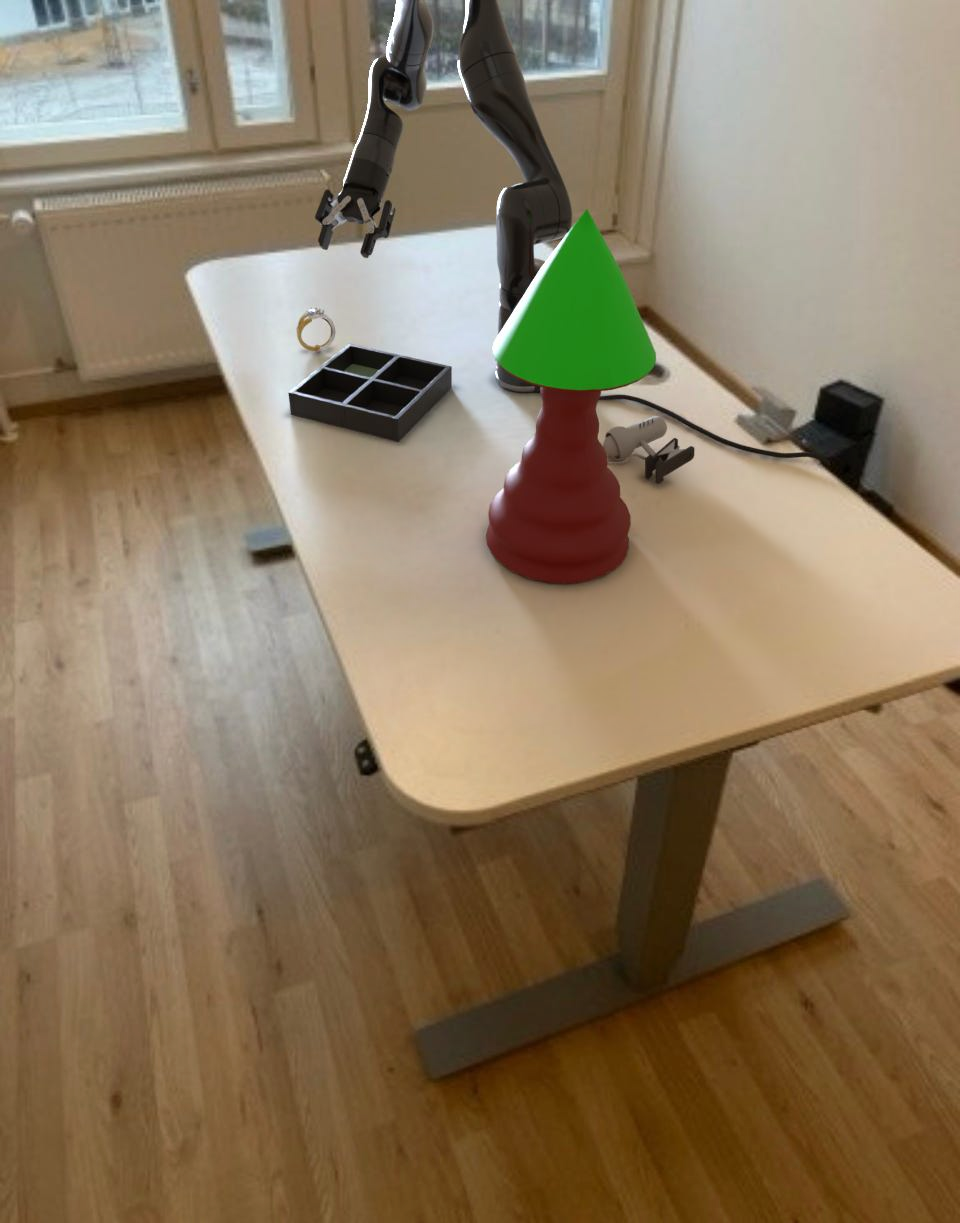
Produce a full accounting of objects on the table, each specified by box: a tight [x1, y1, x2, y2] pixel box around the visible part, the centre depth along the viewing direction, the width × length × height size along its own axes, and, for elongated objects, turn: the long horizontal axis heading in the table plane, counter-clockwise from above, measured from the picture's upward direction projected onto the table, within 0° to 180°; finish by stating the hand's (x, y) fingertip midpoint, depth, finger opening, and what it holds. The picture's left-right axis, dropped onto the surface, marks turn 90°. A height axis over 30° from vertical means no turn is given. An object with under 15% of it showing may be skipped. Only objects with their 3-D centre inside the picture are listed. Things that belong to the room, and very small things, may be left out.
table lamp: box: [485, 208, 657, 584], centre depth 120 cm, size 20×20×45 cm
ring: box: [296, 307, 336, 353], centre depth 174 cm, size 7×3×8 cm, turn 106°
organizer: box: [287, 343, 453, 443], centre depth 162 cm, size 20×20×4 cm
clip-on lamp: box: [602, 415, 695, 485], centre depth 147 cm, size 12×6×18 cm
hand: (343, 251), depth 176 cm, fingers open, 8 cm apart
